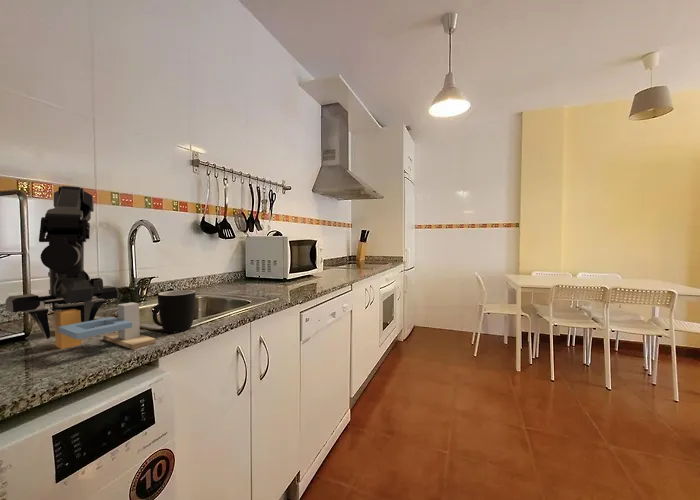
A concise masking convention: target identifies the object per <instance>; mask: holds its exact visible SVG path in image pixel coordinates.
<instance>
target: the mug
mask: <svg viewBox="0 0 700 500" xmlns="http://www.w3.org/2000/svg"><path fill="white" fill-rule="evenodd" d="M195 309H196V291H195V290H192V289H177V290H168V291H161V292H158V294H157V304H156V305H155V307H154V309H153V312H152V319H153V323H154V324H155V325H156V326H158V327H161V329H162V330H163V331H164V332H165V333H181V332H185V331H188V330H190V329H191V328H192V325H193V322H194V317H195V311H196V310H195ZM158 312H159V313H158ZM158 315H159V319H158ZM159 320H160V321H159Z"/></svg>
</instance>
